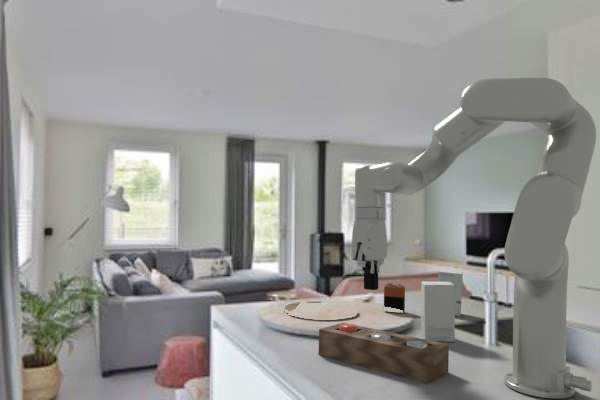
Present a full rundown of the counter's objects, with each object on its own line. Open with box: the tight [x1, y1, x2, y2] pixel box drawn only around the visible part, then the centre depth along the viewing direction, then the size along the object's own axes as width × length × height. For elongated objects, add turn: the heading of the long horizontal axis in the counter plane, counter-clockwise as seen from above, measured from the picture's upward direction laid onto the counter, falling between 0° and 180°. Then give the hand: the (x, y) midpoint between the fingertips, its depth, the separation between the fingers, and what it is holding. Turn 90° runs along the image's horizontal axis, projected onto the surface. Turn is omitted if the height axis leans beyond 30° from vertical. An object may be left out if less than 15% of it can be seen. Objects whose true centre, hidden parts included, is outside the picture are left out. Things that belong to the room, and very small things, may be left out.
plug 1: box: [371, 333, 391, 340], centre depth 108 cm, size 4×4×5 cm
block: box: [318, 322, 450, 385], centre depth 108 cm, size 28×10×6 cm, turn 49°
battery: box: [383, 282, 406, 312], centre depth 167 cm, size 4×7×10 cm, turn 71°
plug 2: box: [406, 341, 427, 349], centre depth 102 cm, size 4×4×5 cm
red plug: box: [339, 323, 359, 333], centre depth 114 cm, size 4×4×5 cm
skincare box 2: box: [437, 270, 464, 317], centre depth 166 cm, size 8×6×15 cm
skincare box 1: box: [420, 280, 456, 343], centre depth 131 cm, size 8×7×16 cm
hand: (371, 289), depth 117 cm, fingers closed
